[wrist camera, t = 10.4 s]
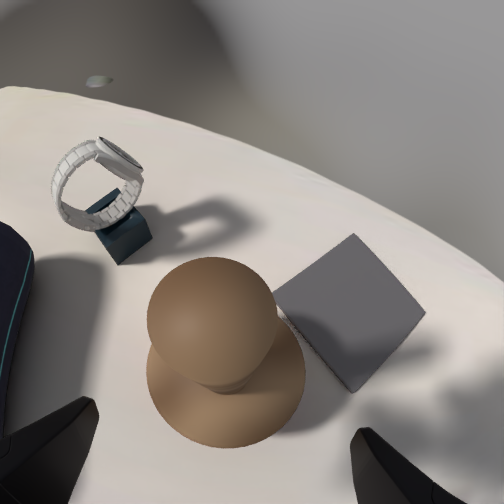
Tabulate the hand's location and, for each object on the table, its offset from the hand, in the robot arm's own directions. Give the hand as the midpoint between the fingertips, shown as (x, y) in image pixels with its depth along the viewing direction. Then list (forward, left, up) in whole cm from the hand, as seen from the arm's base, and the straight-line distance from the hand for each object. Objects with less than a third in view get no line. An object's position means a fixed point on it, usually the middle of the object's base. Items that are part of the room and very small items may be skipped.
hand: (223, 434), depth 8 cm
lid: (+3, -2, -9) cm, 10 cm away
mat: (+1, -14, -13) cm, 19 cm away
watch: (+20, -1, -13) cm, 24 cm away
